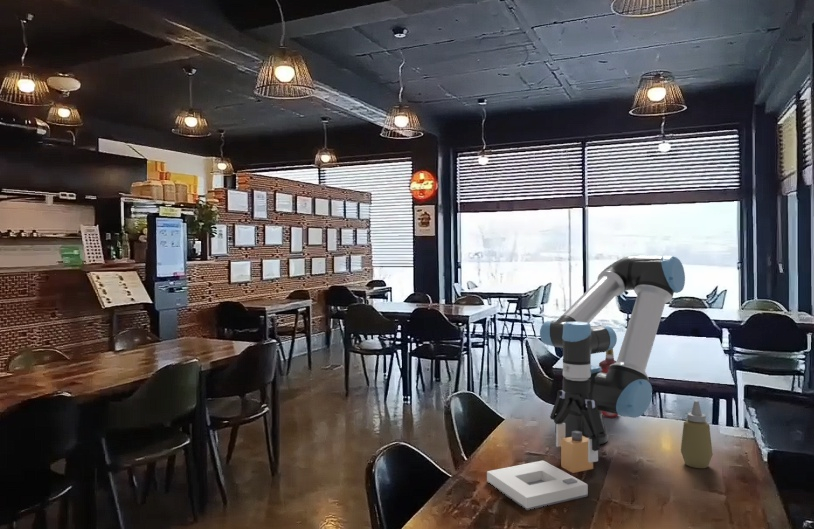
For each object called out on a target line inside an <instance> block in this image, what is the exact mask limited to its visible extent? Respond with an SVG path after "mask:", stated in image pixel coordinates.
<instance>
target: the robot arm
mask: <svg viewBox="0 0 814 529" xmlns="http://www.w3.org/2000/svg"><path fill="white" fill-rule="evenodd" d="M684 268H685V267H684V265H683V263H682V261H681V260H680V259H679V258H678V257H677V256H675V255H665V254H663V255H639V254H638V255H634V254H633V255H628V256H624V257H623V258H620V259H619V260H616V261H614V262H612V263H611V264H610V265H608V266H607V267H605V268H604V269H603V270H602V271H601V272H600V273H599V274H598V276H597V279H596V281H595V282H594V283H593V284H592V285H591V286H590V287H589V288H588V289H587V290H586V291H585V292H584V293H583V294H582V295H581V296H580V297H579V298H578V299H577V300H575V302H574V303H573V304H572V305H571V306H569V308H568V309H567V310H566V311H565V312H564V313H563V314H562V315H561V316H560V317H559V318H558V319H556V320H555V321H554V320H551V321H550V320H547V321H544V322H543V323H542V324H541V326H540V330H539V337H540V340H541V342H542V343H543V344H544V345H546V346H550V347H554V348H562V376H563V378H562V389H560V390H557V393H556V394H557V395H556V400H555V402H554V405H553V407H552V411H551V413H550V415H549V417H550V419H551V420H553V421H554V423H555V424H554V425H555V426H554V427H555V435H556V436H555V447H557V448H561V439H562V438H568V437H572V431H580V432H582V436H584V437H586V438H588V462H590V463H591V462H593V463H596V462H599V450H600V445H603V444H605V443H606V442H608V438H609V437H608V431H607V428H606V424H605V421H604V419H603V415H602V411H605V412H609V413H613V414H617V415H618V416H619V417H624V418H627V417H628V418H633V419H634V418H639V417H640V416H642V415H644V414H645V413H646V412H647V410H648V409H649V407H650V406H651V402H652V400H653V394H652V393H653V387H652V385H651V383H650V382H649V376H648V374H647V372H646V370H647V366H648V363H649V360H650V355H651V353H652V349H653V346H654V342H655V340H656V337H657V336H656V335H657V332H658V330H659V325H660V322H661V318H662V317H663V316H662V315H663V311H664V309H665V306H666V304H668V303H670V302H672V299H673V296H674V294H678V293H680V292H682V291H683V290H684V287H685V283H686V272H685V269H684ZM631 290H632V291H634V293H635V294H636V299H635V302H634V305H633V307H632V308H633V309H632V311H631V315H630V316H629V321H628V324H627V328H626V330H625V333H624V336H623V337H624V338H623V340H622V343H621V346H620V349H619V352H618V356H617V358H616V361H617V362H616V363H614V364H611V365H610V367H609V370H608V373H602V369H601V367H600V366H599V365H594V364H592V363H591V361H592V360H591V357H592V355H594V354H599V353H606V351H608V350H611V349H612V348H613V349H614V348H615V346H616V344H617V340H618V337H617V334H616V333H617V332H615V330H614V328H612V327H611V326H609V325H601V324H599V325H591V324H590V323H591V322H592V320H594V319H595V317H596V316H598V314H599V313H600V312H601V311H603V309H604V308H605V307H606V306H607V305H608V304H609V303H611V301H612V300H613V299H614V298H615V297H619V296H621V295H622V294H624V292H625V291H626V292H627V291H631Z"/></svg>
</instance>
